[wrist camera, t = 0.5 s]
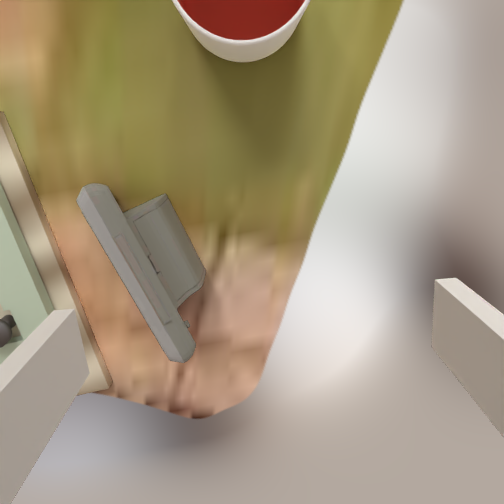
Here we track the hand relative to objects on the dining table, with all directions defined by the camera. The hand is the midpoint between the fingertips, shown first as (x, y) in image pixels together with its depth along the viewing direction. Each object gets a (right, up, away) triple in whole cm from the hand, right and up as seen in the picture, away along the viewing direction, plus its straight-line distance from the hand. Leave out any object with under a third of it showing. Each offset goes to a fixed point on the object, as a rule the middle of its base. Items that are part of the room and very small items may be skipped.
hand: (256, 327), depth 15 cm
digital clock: (-10, +3, +27) cm, 29 cm away
